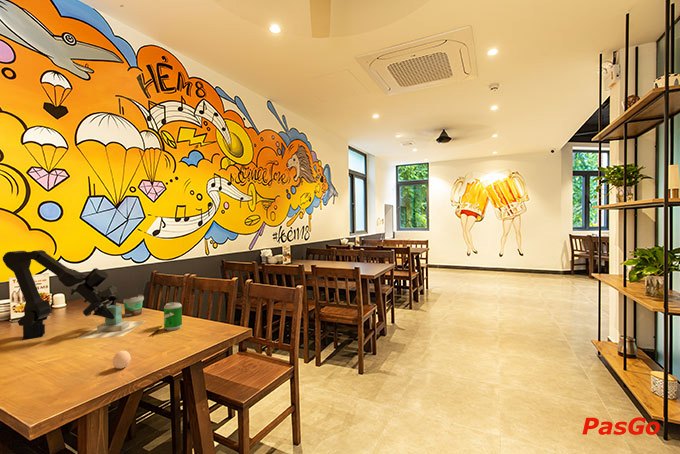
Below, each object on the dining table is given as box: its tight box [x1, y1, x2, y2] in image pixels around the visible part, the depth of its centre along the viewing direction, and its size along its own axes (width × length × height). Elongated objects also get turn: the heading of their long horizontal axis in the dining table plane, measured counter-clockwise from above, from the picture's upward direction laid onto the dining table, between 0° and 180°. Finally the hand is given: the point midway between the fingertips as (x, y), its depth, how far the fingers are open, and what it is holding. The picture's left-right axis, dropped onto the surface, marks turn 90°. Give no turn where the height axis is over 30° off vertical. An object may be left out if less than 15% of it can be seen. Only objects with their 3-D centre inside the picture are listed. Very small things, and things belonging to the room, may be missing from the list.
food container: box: [122, 294, 145, 318], centre depth 171 cm, size 12×6×10 cm, turn 179°
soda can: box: [163, 301, 183, 332], centre depth 147 cm, size 8×8×12 cm
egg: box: [112, 350, 131, 370], centre depth 106 cm, size 5×5×6 cm
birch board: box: [76, 320, 147, 340], centre depth 143 cm, size 18×22×2 cm
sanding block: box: [96, 304, 130, 332], centre depth 142 cm, size 10×6×10 cm, turn 99°
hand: (116, 316), depth 142 cm, fingers closed on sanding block, 4 cm apart
